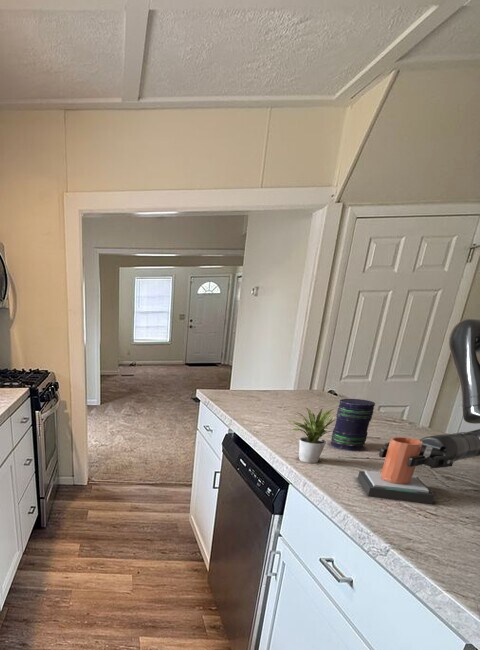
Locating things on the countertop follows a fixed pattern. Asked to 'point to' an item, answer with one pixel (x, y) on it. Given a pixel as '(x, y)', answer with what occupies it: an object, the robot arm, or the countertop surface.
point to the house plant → (312, 436)
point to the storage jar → (352, 424)
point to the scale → (395, 488)
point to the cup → (400, 460)
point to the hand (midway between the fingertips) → (395, 457)
